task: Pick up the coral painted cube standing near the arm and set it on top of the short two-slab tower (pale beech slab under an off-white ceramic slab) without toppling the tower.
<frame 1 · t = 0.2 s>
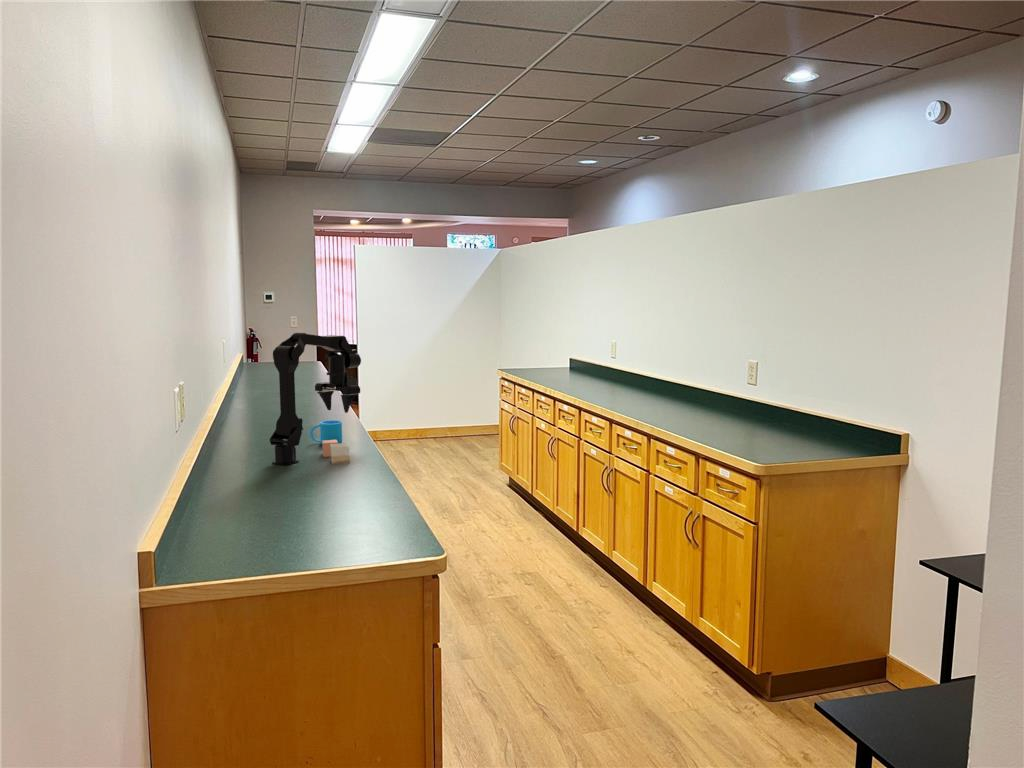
hand: (337, 411, 276), 14 cm above the table, fingers open, 9 cm apart
mug: (326, 443, 287), on the table
coral cube: (330, 455, 267), on the table
slab upper: (339, 453, 257), point 3 cm above the table, touching slab lower
slab lower: (340, 462, 257), on the table, touching slab upper
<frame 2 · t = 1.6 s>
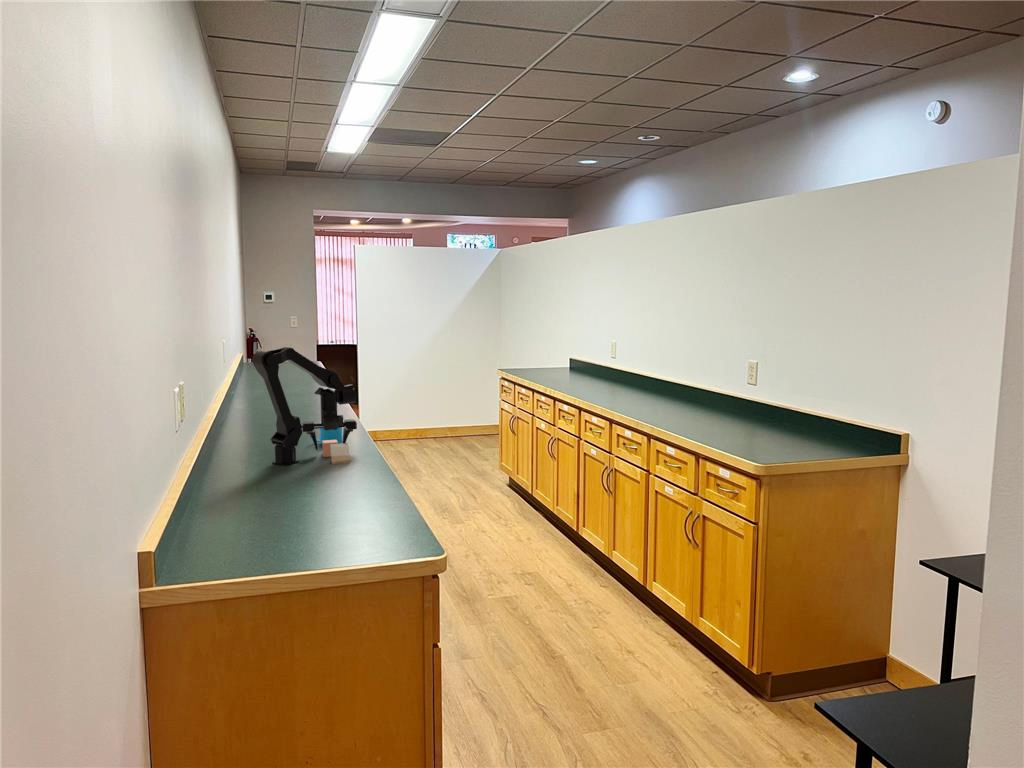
hand: (330, 449, 267), 2 cm above the table, fingers open, 9 cm apart
nothing on the table moved.
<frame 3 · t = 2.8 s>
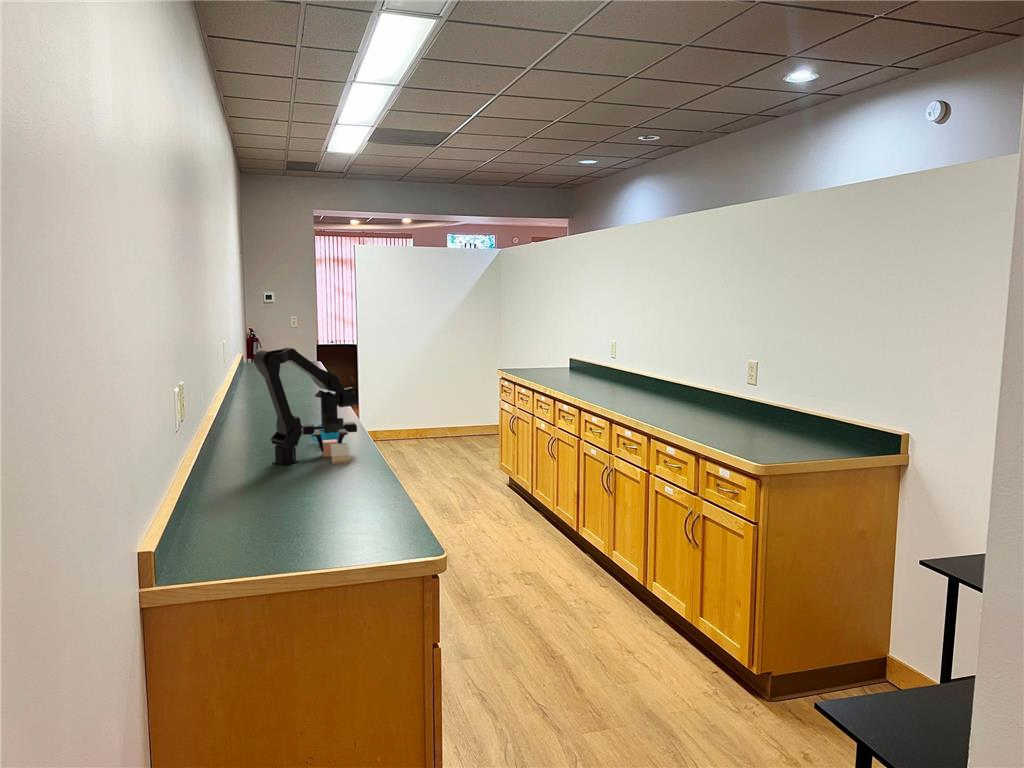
hand: (330, 451, 267), 1 cm above the table, fingers closed on coral cube, 5 cm apart
coral cube: (330, 454, 267), on the table, touching gripper
everything else where it was.
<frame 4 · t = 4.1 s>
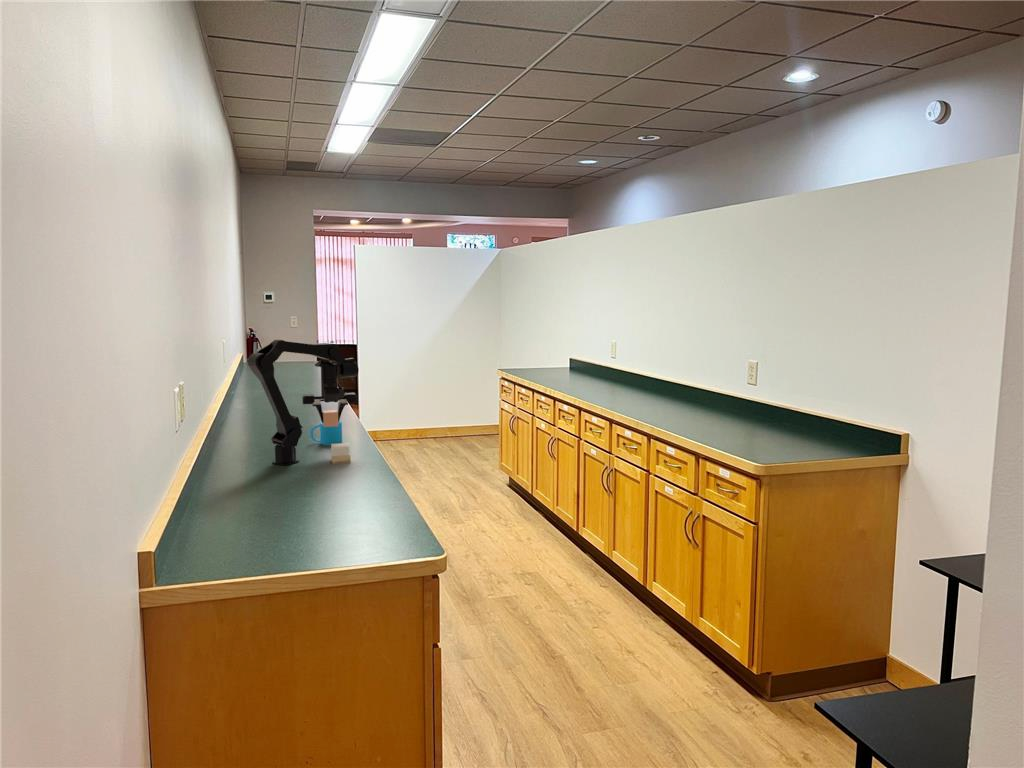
hand: (330, 422, 265), 12 cm above the table, fingers closed on coral cube, 5 cm apart
coral cube: (330, 425, 265), point 11 cm above the table, touching gripper
everything else where it was.
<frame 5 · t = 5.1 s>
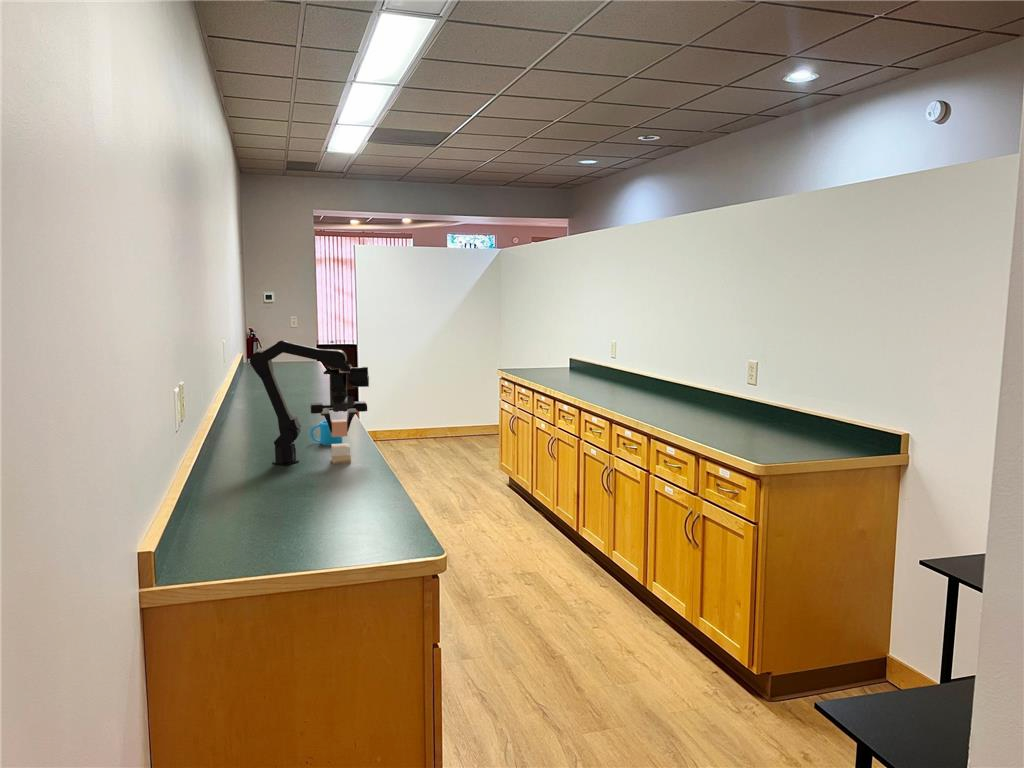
hand: (339, 432, 256), 10 cm above the table, fingers closed on coral cube, 5 cm apart
coral cube: (339, 435, 256), point 9 cm above the table, touching gripper
everything else where it was.
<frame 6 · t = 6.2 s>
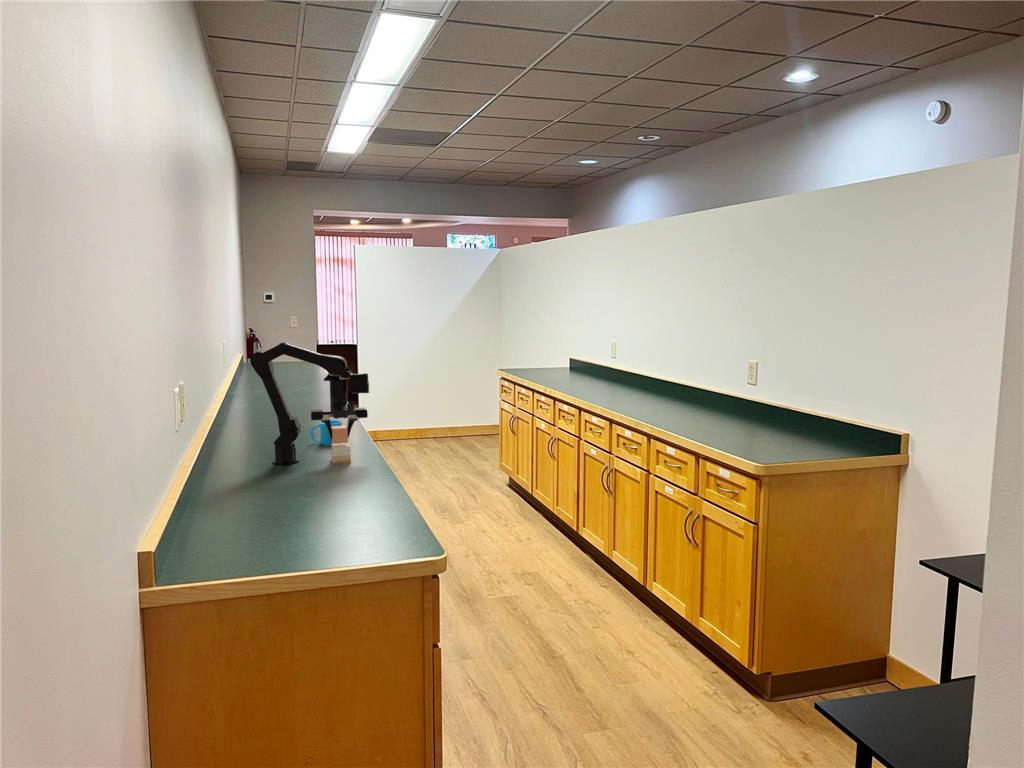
hand: (339, 438, 256), 8 cm above the table, fingers closed on coral cube, 5 cm apart
coral cube: (339, 441, 256), point 7 cm above the table, touching gripper
everything else where it was.
when the fingers open (8 cm above the table, at t = 6.2 s): coral cube drops 1 cm, resting on slab upper.
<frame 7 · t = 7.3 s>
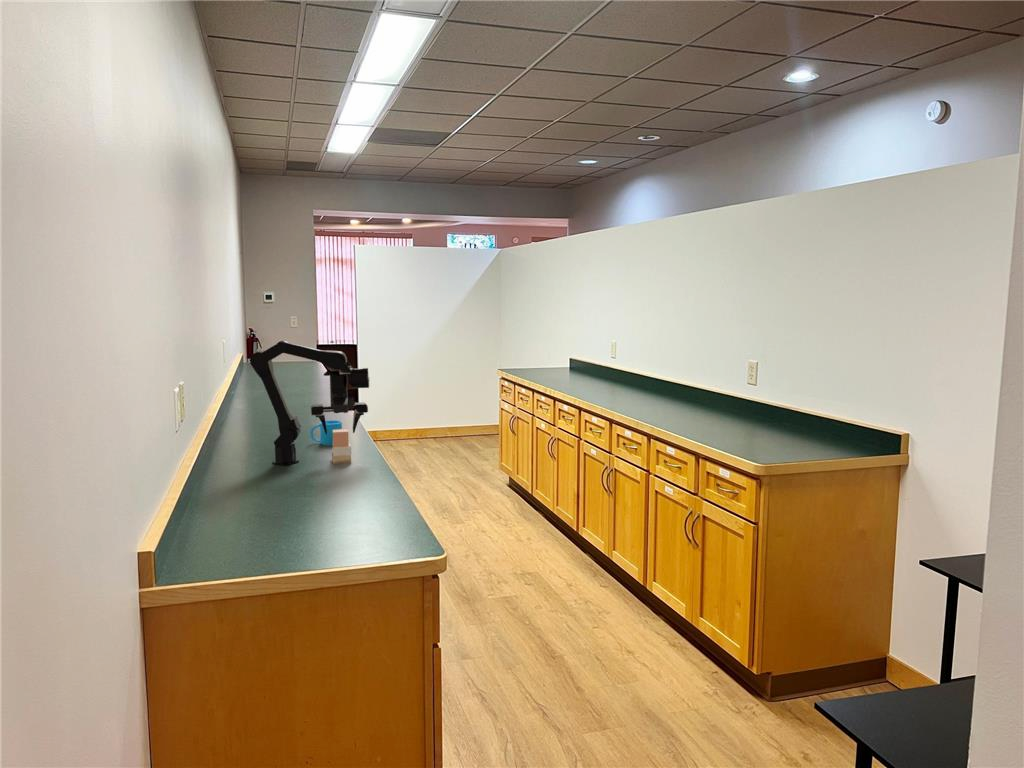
hand: (340, 433, 256), 10 cm above the table, fingers open, 9 cm apart
coral cube: (340, 445, 257), point 6 cm above the table, touching slab upper
slab upper: (341, 453, 257), point 3 cm above the table, touching coral cube, slab lower
everything else where it was.
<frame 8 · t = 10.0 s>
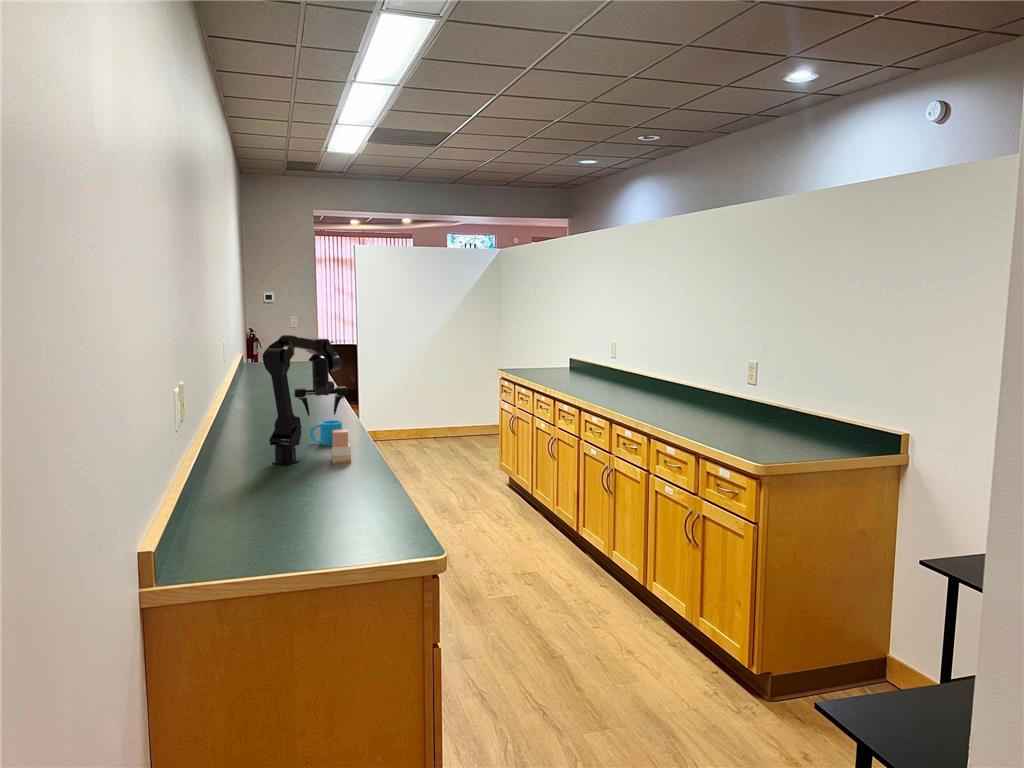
hand: (321, 415, 274), 13 cm above the table, fingers open, 9 cm apart
coral cube: (340, 445, 256), point 6 cm above the table
slab upper: (341, 453, 257), point 3 cm above the table, touching slab lower
everything else where it was.
at the end: coral cube 0.4 cm off-centre on the slab lower, point 6.0 cm above the slab lower's base; coral cube tilted 0°; slab upper moved 0.7 cm from its start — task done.
